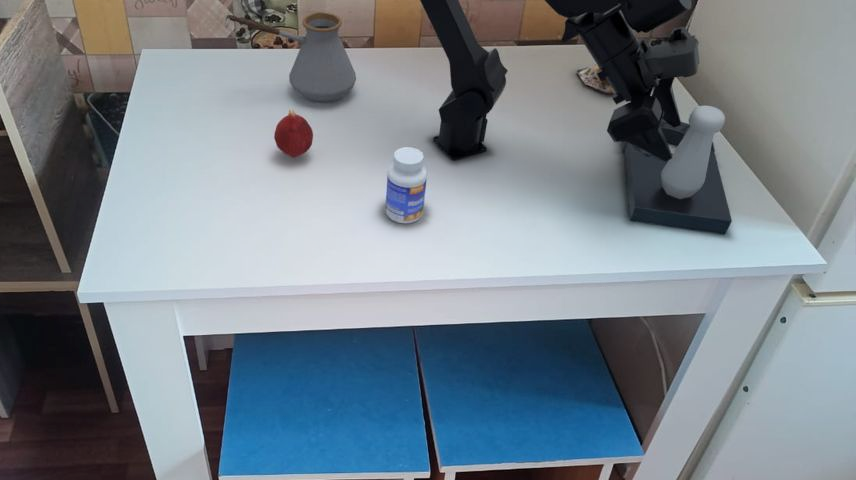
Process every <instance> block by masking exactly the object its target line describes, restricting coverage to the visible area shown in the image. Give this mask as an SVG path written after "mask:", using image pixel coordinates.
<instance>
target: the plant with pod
mask: <svg viewBox="0 0 856 480" xmlns="http://www.w3.org/2000/svg"><path fill="white" fill-rule="evenodd" d="M598 70H599V66H598V65H597V64H595V65H592V66H589V67H584V68H581V69H579V68H578V69H577V70H576V73H577V74H578V77H579V78H580V79H581V80H582V82H583V84H584V85H587V86H590V87H591V88H594V89H596V90H599V91H601V92H603V93H604V94H607V95H608V94H609V95H610V94H611V95H612V94H613V95H614V94H615V92H614V90H613V88H612V87H611V85H610V84H609V82H608V81H607V79H606V77H605V78H603V79H602V80H600V79H599V77H598V75H597V72H598Z"/></svg>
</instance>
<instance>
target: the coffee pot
mask: <svg viewBox="0 0 856 480" xmlns="http://www.w3.org/2000/svg"><path fill="white" fill-rule="evenodd" d="M230 21H231V22H237V23H239V25H240V26H242V25H245V26H246V27H249V28H251V29H253V30H255V31H260V32H263V33H268V34H272V35H276V36H280V37H283V38H287V39H290V40H292V41H295V42H298V43H301V45H300V48H299V50H298V52H297V55H296V58H295V60H294V63H293V65H292V67H291V70H290V72H289V75H288V76H289V77H288V78H289V79H288V81H289V83H290V85H291V87H292V88H293V90H294V91H295V92H296V93H297V94H298V95H300V96H301V97H302V98H303V99H304V100H306V101H308V102H311V103H315V104H331V103H335V102H338V101H339V100H341V99H343V97H345V96H346V95H347V94H349V93H350V92H351V91H352V90H353V88H354V86H355V84H356V81H357V75H356V70H355V69H354V67H353V65H352V62H351V60H350V58H349V55H348V52H347V50H346V48H345V46H344V44H343V42H342V39H341V37H340V34H339V30H340V28H341V27H342V25H343V20H342V19H341V18H340V16H338V15H336V14H334V13H330V12H323V11H315V12H313V13H310V14H308V15H306V16H305V17H303V19H302V22H301V23H302V26H303V27H304V28H305V32H306V33H305V35H304V36H302V35H298V34H294V33H291V32H288V31H284V30H280V29H279V28H276V27H273V26H271V25H268V24H265V23H262V22H260V21H257V20H251V19H246V18H245V17H243V16H240V17H238V16H236V15H233V14H227V15H226V17H225V21H224V28H228V26H229V24H230Z"/></svg>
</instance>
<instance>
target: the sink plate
mask: <svg viewBox="0 0 856 480" xmlns="http://www.w3.org/2000/svg"><path fill="white" fill-rule="evenodd" d="M660 127H661V129H662V132H663V134H664V136H665V139H666V141H667V143H668V144H670V145H671V144H672V145H674V146H676V147H678V145H679V144H680V142H681V140H682V139H683V137H684V136H685V134H686V133H687V131H688V130H689V128H690V125H689V123H687V122H684V121H681V125H679V126H677V127H672V126H671V125H670V124H668V123H667V122H666V121H665V120H663V119H662V122H661V124H660ZM621 152H622V154H623V162H624V163H623V164H624V171H625V180H626V192H627V201H628V212H629V220H630V222H635V223H642V224H643V223H644V224H650V225H658V226H664V227H672V228H677V229H685V230H692V231H698V232H706V233H713V234H718V235H719V234H721V235H726V234H727V232H728V230H729V228H730V226H731V224H732V222H733V220H732V216H731V211H730V208H729V204H728V200H727V196H726V193H725V189H724V184H723V180H722V177H721V176H722V175H721V173H720V169H719V165H718V159H717V156H716V153H715V152H716V148H715V145H714V142H713V141H712V146H711V151H710V156H709V161H708V167H707V172H706V177H705V182H704V183H703V185H702V187H701V188H700V189H699V190H698V191H697V192H696V193H695V194H693V195H692V196H691V197H688V198H682V199H678V198H676V197H673V196H670V195H668V194H667V193H666V192H665V190H664V188H663V187H662V179H661V172H662V170H663V169H664V167H665V165H666V164H667V162H668V161H669V160H668V161H663V160H661V159H659V158H658V157H656V156H654V155H652V154H650V153H648V152H647V151H645V150H643V149H641V148H639V147H637V146H634V145H632V144H630V143H628V142H625V141H624V142H621ZM673 153H674V152H671V154H673Z"/></svg>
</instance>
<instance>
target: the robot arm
mask: <svg viewBox="0 0 856 480" xmlns="http://www.w3.org/2000/svg"><path fill="white" fill-rule="evenodd" d="M419 2H420V3H421V6H422V7H423V10H424V12H425V15H426V16H427V18H428V20H429V22H430V24H431V26H432V29H433V31H434V33H435V35H436V37H437V38H438V41H439V44H440V45H441V47H442V49H443V51H444V53H445V55H446V58H447V60H448V63H449V73H450V75H449V76H450V86H451V89H452V90H451V92H450V93H449V94H448V96H447V97H446V99H445V100H444V101H443V102H442V104H441V106H440V107H439V108H438V114H439V119H440V124H439V125H440V126H439V132H438V135H435V136H432V141H433V143H435V144H436V146H438V148H440V150H441V151H442V152H443V153H444V155H446V156H447V157H448V158H449V159H450V160H451V161H458V160H461V159H465V158H469V157H472V156H477V155H480V154H484V153H486V152H488V147H487V146H486V145H485V144H484V142H485V137H486V132H487V125H488V118H487V115H488V114H489V113H490V112H491V111H492V109H494V107H495V105H496V103H497V101H498V100H499V98H500V97H501V95H502V93H503V91H504V90H505V88H506V85H507V78H506V75H507V73H508V72H509V71H508V69H507V68H506V67H505V66H504V64H503V63H502V60H501V56H500V53H499V51H498V49H497V48H496V47H494V48H493V49H491V50H490V51H488V50H487V49H485V48H484V47H483V46H481V45H480V43H479V42H478V40H477V38H476V36H475V34H474V32H473V29H472V27H471V25H470V23H469V21H468V18H467V16H466V13H465V11H464V10H463V8H462V5H461V3H460V1H459V0H419ZM544 2H546V4H547V5H548V6H549V7H550V8H551V9H552V10H553V11H554V12H555V13H556V14H557V15H559V16H561V17H563V18H566V19H565V21H564V30H563V33H562V37H561V42H563V43H567V42H569V41H570V40H571V41H572V40H573V39H574V38H575V37H579V38H580V40H581V42H582V43H583V45H584V46H585V48H586V50H587V51H588V52H589V54H590V56H591V57H592V59H593V60H594V62H595V64H596V65H597V66H599V70H598V72H597V75H598V77H599V79H600V80H602V79H603V78H605V77H606V79H607V81H608V82H609V84H610V85H611V87H612V88H613V90H614V92H615V94H613V96H612V100H613V102H614V104H615V105H619V104H620V103H622V102H626V103H625V104H623V105H620V106H619V107H616V108H615V109H613V112H612V114H611V117H610V119H609V122H608V126H607V128H606V133H608V135H609V136H610V138H611V139H612V141H613V143H618V142H620V143H622V142H624V141H625V142H628V143H630V144H632V145H634V146H637V147H639V148H641V149H643V150H645V151H647V152H648V153H650V154H652V155H654V156H656V157H658V158H659V159H661V160H663V161H668V160H670V159H672V154H671V153H672V151H671V149H670V146H669V143H668V142H667V141H666V139H665V136H664V134H663V132H662V129H661V127H660V124H661V122H662V119H663V120H665V121H666V122H667V123H668V124H670V125H671V126H672V127H677V126H679V125H681V122H682V120H681V117H680V112H679V109H678V105H677V101H676V98H675V93H674V88H673V83H674V80H675V78H679V77H683V78H690V77H692V76H694V75H696V74H697V73H698V68H699V65H700V54H699V42H700V41H699V40H698V39H697V38H696V34H694V35H692V34H691V33H690V32H689V30H687V28H686V27H685V26H679V27H674V28H672V30H671V32H670V35H669V37H668V40H667V41H666V40H661V42H660V44H656V45H651V44H650V41H649V40H648V39H647V38H645V39H644V37H643V36H642V37H641V38H639V39H638V37H637V36H636V34H635V32H636V33H638V34H639V33H641V32H642V33H644V34H648V33H649V32H652V31H653V30H655V29H657V28H659V27H660V26H662V25H664V24H666V23H667V22H670V21H671V20H673V19H676V18H678V17H679V16H680V15H683V14H684V13H686V12H687V11H690V10H692V0H544ZM634 31H635V32H634Z"/></svg>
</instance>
